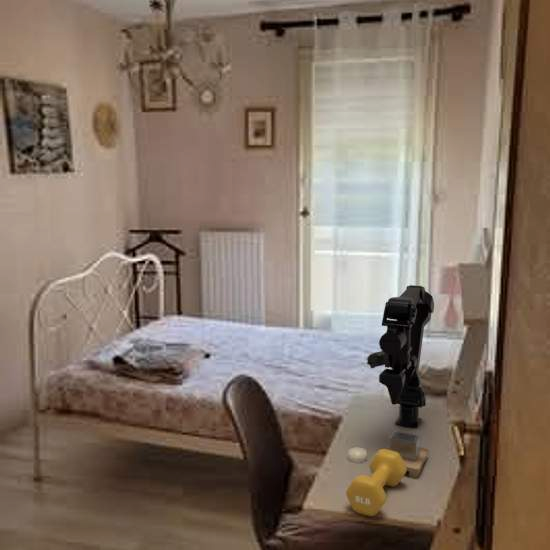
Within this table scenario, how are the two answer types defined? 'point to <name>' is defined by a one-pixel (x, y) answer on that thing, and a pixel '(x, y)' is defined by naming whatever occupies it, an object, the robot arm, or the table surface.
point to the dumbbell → (376, 482)
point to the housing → (405, 445)
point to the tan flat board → (416, 463)
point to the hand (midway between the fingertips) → (398, 398)
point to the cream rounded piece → (357, 454)
